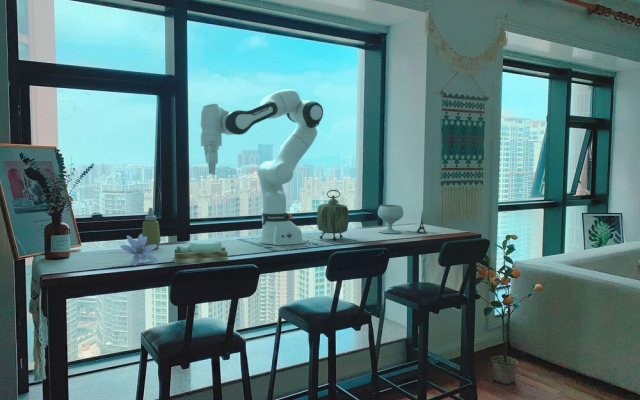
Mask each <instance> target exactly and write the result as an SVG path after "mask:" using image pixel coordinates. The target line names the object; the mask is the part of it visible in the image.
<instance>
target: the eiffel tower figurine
mask: <svg viewBox="0 0 640 400" xmlns="http://www.w3.org/2000/svg"><path fill="white" fill-rule="evenodd" d="M423 215H424V214H423V210H421V218H420V219H421V220H420V224H419V227H418V228H417V230H416V232H413V231H410V230H409V231H408V230H406V232H408V233H413V234H418V235H428V232H427V231H426V229H425V226H424V220H423V219H424V217H423ZM422 230H423V231H422ZM430 234H432V235H434V234H436V233H434V232H433V233H430Z"/></svg>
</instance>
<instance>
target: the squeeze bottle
mask: <svg viewBox="0 0 640 400" xmlns="http://www.w3.org/2000/svg"><path fill="white" fill-rule="evenodd" d="M153 210H154V209H153V207H148V212H147V215H146V216H144V221H142V230H141V231H142V232H141V234H142V235H143V238H144V237H145V236H147V241H146V244H145V246H144V247H146V246H148V245H153V244H155V245H157V247H156V248H154V249H153V250H156V249H159V246H160V243H161V241H162V238H161V233H160V224H159V222H160V221H158V220H157V215H154V211H153ZM144 247H143V248H144Z"/></svg>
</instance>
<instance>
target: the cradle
mask: <svg viewBox="0 0 640 400" xmlns="http://www.w3.org/2000/svg"><path fill="white" fill-rule="evenodd" d="M228 261H229V257H228V250H226V246H222V251H214V252H191V253H190V252H185V253H177V248H175V249H174V264H190V263H211V262H215V263H216V262H228Z"/></svg>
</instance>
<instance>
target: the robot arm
mask: <svg viewBox="0 0 640 400" xmlns="http://www.w3.org/2000/svg"><path fill="white" fill-rule="evenodd" d="M285 115H286V117H287V118H288V120H289V121H291V122H293V123H296V126H295V128H294V130H293V131H292V133H291V134H290V135H289V136H288V137H287V139H286V140H285V141H284V142H283V143H282V145H280V148H279V152H278V154H277V156H276V157H275V158H274V159H273V160H266V161H264V162H262V163H261V164H259V166H258V167H257V176H258V179H259V181H260V182H259V183H260V187H261V193H262V213H261V224H262V228H261V235H260V238H259V242H260V243H261V244H265V245H274V246H284V245H298V244H306V243H307V239H306V238H305V237H303V235H302V229H301V228H300V227H299V226H297V225H296V223H294V222H292V221H291V219H293V217H294V216H293V215H292V214H291V213H290V214H289V213H288V212H287V196H286V193H285V190H284V187H283V185H284V184H287V183H289V182H291V181H292V179H293V177H294V171H295V169H296V167H297V165H298V163H299V161H300V160H301V159H302V158H303V157H304V155H305V154H306V153H307V151H308V150H309V149H310V147H311V146H312V144H313V143H314V141H315V140H316V138H317V136H318V130H317V127H318V126H319V125H320V122H321V121H322V119H323V116H324V109H323V106H322V105H321V104H320V103H319V102H317V101H314V100H305V99H304V100H301V98H300V95H299V93H298V91H297V90H295V89H292V88H287V89H282V90H278V91H276V92H273V93H270V94H268V95H267V96H265V97H263V98H262V99H261V101H260V105H258V106H255V107H254V108H251V109H248V110H240V109H239V110H235V111H228V110H226V109H225V108H223V107H222V106H221V105H220V104H218V103H210V104H206V105H203V106H202V107H201V109H200V120H199V122H200V124H199V125H200V127H201V130H200V131H201V132H200V147H203V150H204V156H205V157H204V159H205V163H207V164H208V174H210V175H216V166H217V164H218V163H219V157H218V155H219V154H218V152H219V150H220V147H222V146H223V145H222V143H223V142H222V141H223V140H222V139H223V138H222V136H223V134H225V135H227V136H230V135H238V136H241V135H243V134H246V133H247V132H248V131H249V130H250V129H251V128H252V127H253V126H254V125H255V124H258V123H260V122H262V121H264V120H267V119H269V120H270V119H277V118H280V117H283V116H285Z"/></svg>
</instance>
